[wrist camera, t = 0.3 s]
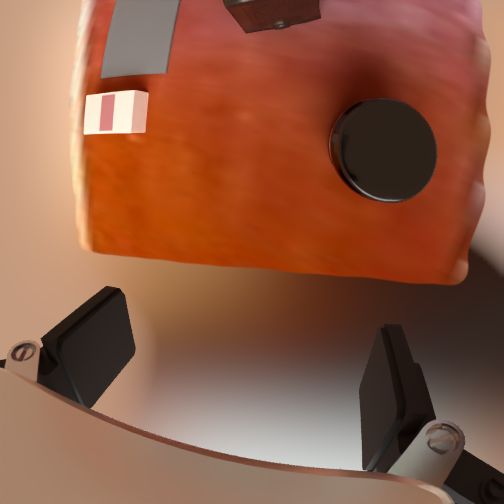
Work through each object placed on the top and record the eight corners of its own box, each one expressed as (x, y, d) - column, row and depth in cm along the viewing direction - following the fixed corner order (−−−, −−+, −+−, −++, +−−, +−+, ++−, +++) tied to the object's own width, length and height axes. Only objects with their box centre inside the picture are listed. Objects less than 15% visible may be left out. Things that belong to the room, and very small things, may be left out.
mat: (122, -16, 31) (121, -17, 31) (187, -29, 29) (186, -30, 29) (102, 78, 38) (100, 78, 37) (166, 73, 36) (165, 72, 36)
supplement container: (419, 172, 34) (457, 185, 23) (347, 201, 37) (359, 226, 26) (387, 95, 32) (414, 77, 21) (313, 125, 35) (310, 117, 24)
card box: (102, 96, 39) (86, 95, 35) (149, 92, 38) (134, 89, 34) (99, 133, 41) (83, 134, 38) (146, 132, 40) (130, 132, 36)
